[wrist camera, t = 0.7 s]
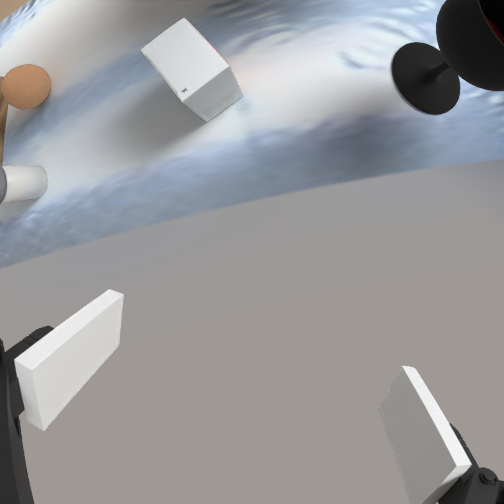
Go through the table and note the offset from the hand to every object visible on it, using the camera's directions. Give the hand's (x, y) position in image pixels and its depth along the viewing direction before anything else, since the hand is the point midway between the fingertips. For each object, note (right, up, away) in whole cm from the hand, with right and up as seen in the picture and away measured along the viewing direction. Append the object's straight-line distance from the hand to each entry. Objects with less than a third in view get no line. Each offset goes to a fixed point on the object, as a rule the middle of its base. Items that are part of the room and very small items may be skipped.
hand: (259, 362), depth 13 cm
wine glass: (+22, +27, +19) cm, 40 cm away
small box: (-6, +25, +22) cm, 34 cm away
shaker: (-32, +15, +26) cm, 44 cm away
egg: (-32, +29, +23) cm, 49 cm away
